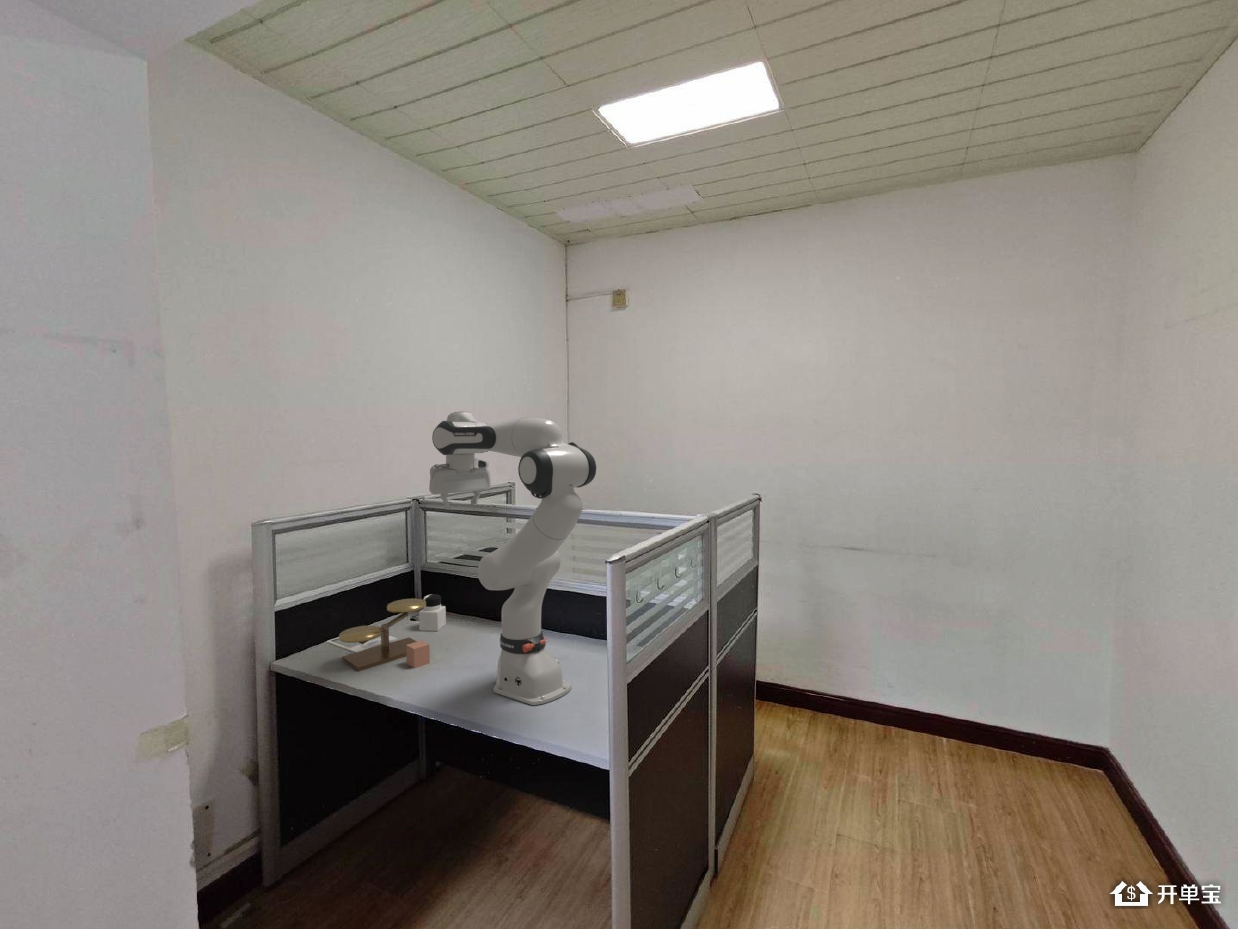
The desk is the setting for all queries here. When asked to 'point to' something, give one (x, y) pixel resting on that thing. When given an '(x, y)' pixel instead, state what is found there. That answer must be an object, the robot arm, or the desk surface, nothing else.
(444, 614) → the medicine bottle
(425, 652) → the block
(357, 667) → the balance
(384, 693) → the desk surface
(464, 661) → the desk surface
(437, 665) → the desk surface
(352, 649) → the photo frame
